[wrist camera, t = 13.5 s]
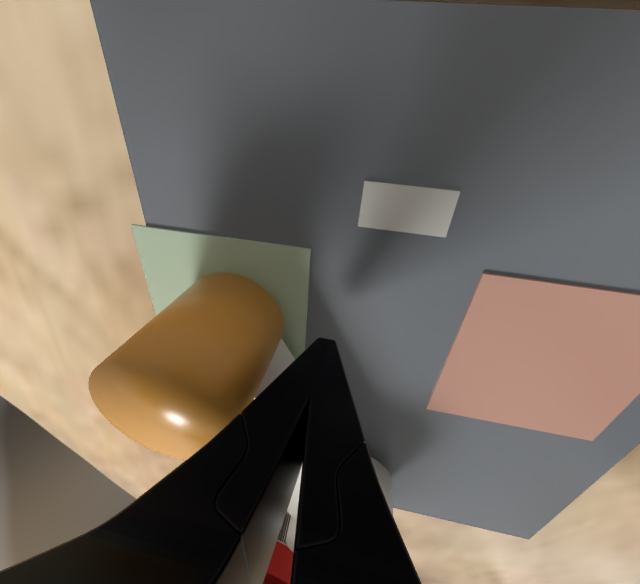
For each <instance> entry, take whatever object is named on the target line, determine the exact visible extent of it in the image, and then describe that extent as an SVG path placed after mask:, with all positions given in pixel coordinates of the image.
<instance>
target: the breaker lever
mask: <svg viewBox="0 0 640 584" xmlns="http://www.w3.org/2000/svg"><path fill="white" fill-rule="evenodd" d="M283 332H284V320H283V316H282V313H281V310H280V308H279V306H278V304H277V303H276V301H275V300H274V299H273V297H272V296H271V295H270V294H269V293H268V292H267V291H266V290H265V289H264V288H263V287H261V286H260V285H258V284H257V283H255V282H254V281H252V280H250V279H248V278H246V277H243V276H240V275H237V274H232V273H213V274H209V275H206V276H204V277H202V278H200V279H199V280H198V281H196V282H195V283H194V284H193V285H192V286H190V287H189V288H188V289H187V290H186V291H185V292H183V293H182V294H181V295H180V296H179V297H178V298H176V299H175V300H174V301H173V302H172V303H171V304H169V305H168V306H167V307H166V308H165V309H164V310H162V311H161V312H160V313H159V314H158V315H157V316H155V317H154V318H153V319H152V320H151V321H150V322H148V323H147V324H146V325H145V326H144V327H143V328H141V329H140V330H139V331H138V332H137V333H136V334H134V335H133V336H132V337H131V338H130V339H129V340H127V341H126V342H125V343H124V344H123V345H122V346H120V347H119V348H118V349H117V350H116V351H115V352H113V353H112V354H111V355H110V356H109V357H108V358H106V359H105V360H104V361H103V362H102V363H101V364H99V365H98V366H97V367H96V368H95V369H94V370H93V372H92V373H91V375H90V378H89V390H90V394H91V397H92V399H93V401H94V403H95V405H96V406H97V408H98V409H99V411H100V412H101V413H102V415H103V416H104V417H105V418H106V419H107V420H108V421H109V422H110V423H111V424H112V425H113V426H114V427H116V428H117V429H118V430H119V431H120V432H122V433H123V434H125V435H126V436H127V437H129V438H131V439H132V440H134V441H135V442H137V443H139V444H141V445H143V446H144V447H147V448H149V449H151V450H153V451H156V452H158V453H160V454H163V455H166V456H170V457H173V458H177V459H182V460H187V459H188V458H190V457H191V456H192V455H193V454H195V453H196V452H197V451H198V450H199V449H201V448H202V447H203V446H204V445H205V444H207V443H208V442H209V441H210V440H211V439H212V438H214V437H215V436H216V435H217V434H218V433H219V432H220V431H221V430H222V429H223V428H225V427H226V426H227V425H228V424H229V423H230V422H231V421H232V420H233V419H234V418H235V417H236V416H237V415H238V414H241V412H242V410H244V409H245V408H246V407H247V406H248V405H249V404H250V403H251V402H252V401H253V400H254V399H255V398H256V397H257V396H258V395H259V394H260V393H261V392H262V391H263V390H264V389H265V388H266V387H267V386H268V385H269V384H270V383H272V382H273V381H274V380H275V379H276V378H277V377H278V376H279V375H280V374H281V373H282V372H283V371H284V370H285V369H286V368H287V367H288V366H289V365H290V364H291V363H292V362H293V361H294V360H295V358H294V357H293V355H292V354H291V352H290V351H289V349H288V348H287V346H286V344H285V343H284V341H283V340H282V336H283ZM371 459H372V462H373V465H374V468H375V471H376V474H377V477H378V480H379V483H380V486H381V488H382V491H383V493H384V496H385V499H386V501H387V504H388V506H389V509H390V511H391V513H392V516H393V509H392V484H391V476H390V473H389V472H388V470H387V469H386V468H385V467H384V466H383V465H382V464H381V463H380V462H379V461H377V460H375V459H374V458H372V457H371ZM301 473H302V467H301V470H300V473H299V476H298V479H297V482H296V485H295V488H294V491H293V494H292V497H291V500H290V503H289V506H288V509H287V512H288V513H289V514H290V515H291V518H290V523H289V527H288V532H287V536H286V543H287V546H288V547H289V549H290V550H291V551H292V552H294V541H295V532H296V522H297V512H298V502H299V492H300V482H301Z"/></svg>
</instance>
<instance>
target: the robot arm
mask: <svg viewBox="0 0 640 584" xmlns="http://www.w3.org/2000/svg"><path fill="white" fill-rule="evenodd" d="M301 467H302V473H301V482H300V492H299V502H298V512H297V522H296V532H295V541H294V552H293V561H292V571H291V581H290V584H421V582H420V579H419V577H418V575H417V572H416V570H415V567H414V565H413V563H412V560H411V558H410V556H409V553H408V551H407V549H406V546H405V544H404V542H403V539H402V537H401V535H400V532H399V530H398V528H397V525H396V523H395V521H394V518H393V516H392V513H391V511H390V509H389V506H388V504H387V501H386V499H385V496H384V493H383V491H382V488H381V486H380V483H379V480H378V477H377V474H376V471H375V468H374V465H373V462H372V459H371V456H370V453H369V450H368V446H367V444H366V443H365V437H364V433H363V430H362V427H361V423H360V420H359V417H358V413H357V410H356V407H355V403H354V400H353V397H352V393H351V390H350V387H349V383H348V380H347V377H346V373H345V370H344V367H343V363H342V360H341V357H340V353H339V350H338V347H337V343H336V341H335V340H332V339H327V338H322V337H319V338H317V339H316V340H315V341H314V342H313V343H312V344H311V345H310V346H309V347H308V348H307V349H306V350H305V351H304V352H303V353H302V354H301V355H300V356H298V357H297V358H296V359H295V360H294V361H293V362H292V363H291V364H290V365H289V366H288V367H287V368H286V369H285V370H284V371H283V372H282V373H281V374H280V375H279V376H278V377H277V378H276V379H275V380H274V381H273V382H272V383H270V384H269V385H268V386H267V387H266V388H265V389H264V390H263V391H262V392H261V393H260V394H259V395H258V396H257V397H256V398H255V399H254V400H253V401H252V402H251V403H250V404H249V405H248V406H247V407H246V408H245V409H244V410H242V412H241V414H238V415H237V416H236V417H235V418H234V419H233V420H232V421H231V422H230V423H229V424H228V425H227V426H226V427H225V428H223V429H222V430H221V431H220V432H219V433H218V434H217V435H216V436H215V437H214V438H212V439H211V440H210V441H209V442H208V443H207V444H205V445H204V446H203V447H202V448H201V449H199V450H198V451H197V452H196V453H195V454H193V455H192V456H191V457H190V458H188V459H187V460H186V461H185V462H183V463H182V464H181V465H180V466H178V467H177V468H176V469H174V470H173V471H172V472H171V473H169V474H168V475H167V476H166V477H164V478H163V479H162V480H160V481H159V482H158V483H157V484H155V485H154V486H153V487H152V488H150V489H149V490H148V491H147V492H145V493H144V494H143V495H141V496H140V497H139V498H138V499H136V500H135V501H134V502H133V503H131V504H130V505H129V506H127V507H126V508H125V509H123V510H122V511H121V512H119V513H118V514H117V515H115V516H113V517H112V518H110V519H109V520H107V521H106V522H104V523H103V524H101V525H99V526H97V527H96V528H94V529H92V530H90V531H88V532H87V533H85V534H83V535H80V536H78V537H76V538H74V539H72V540H70V541H67V542H65V543H63V544H61V545H58V546H56V547H54V548H51V549H49V550H47V551H45V552H42V553H40V554H38V555H36V556H33V557H31V558H29V559H27V560H25V561H22V562H20V563H18V564H15V565H13V566H11V567H9V568H6V569H4V570H2V571H0V584H263V581H264V578H265V575H266V572H267V569H268V566H269V563H270V560H271V557H272V554H273V551H274V548H275V545H276V542H277V539H278V536H279V533H280V530H281V527H282V524H283V521H284V518H285V515H286V512H287V509H288V506H289V503H290V500H291V497H292V494H293V491H294V488H295V485H296V482H297V479H298V476H299V473H300V470H301Z"/></svg>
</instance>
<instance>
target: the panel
mask: <svg viewBox="0 0 640 584" xmlns="http://www.w3.org/2000/svg"><path fill="white" fill-rule="evenodd" d="M90 3H91V7H92V11H93V14H94V18H95V22H96V26H97V30H98V34H99V38H100V42H101V46H102V50H103V54H104V58H105V62H106V66H107V70H108V74H109V78H110V82H111V86H112V90H113V94H114V98H115V102H116V106H117V110H118V114H119V118H120V122H121V126H122V130H123V134H124V138H125V142H126V146H127V150H128V154H129V158H130V162H131V166H132V170H133V174H134V178H135V182H136V186H137V190H138V194H139V198H140V202H141V206H142V210H143V214H144V218H145V222H146V226H143V225H135V224H132V225H131V229H132V232H133V236H134V239H135V243H136V247H137V250H138V254H139V257H140V261H141V264H142V268H143V271H144V275H145V279H146V282H147V286H148V289H149V293H150V296H151V300H152V304H153V307H154V311H155V314H156V316H157V315H158V314H159V313H160V312H161V311H162V310H164V309H165V308H166V307H167V306H168V305H169V304H171V303H172V302H173V301H174V300H175V299H176V298H178V297H179V296H180V295H181V294H182V293H183V292H185V291H186V290H187V289H188V288H189V287H190V286H192V285H193V284H194V283H195V282H196V281H198V280H199V279H200V278H202V277H204V276H206V275H209V274H213V273H232V274H237V275H240V276H243V277H246V278H248V279H250V280H252V281H254V282H255V283H257V284H258V285H260V286H261V287H263V288H264V289H265V290H266V291H267V292H268V293H269V294H270V295H271V296H272V297H273V299H274V300H275V301H276V303H277V304H278V306H279V308H280V310H281V313H282V316H283V320H284V332H283V336H282V340H283V341H284V343H285V344H286V346H287V348H288V349H289V351H290V352H291V354H292V355H293V357H294V358H295V359H296V358H297V357H298V356H300V355H301V354H302V353H303V352H304V351H305V350H306V349H307V348H308V347H309V346H310V345H311V344H312V343H313V342H314V341H315V340H316V339H317V338H319V337H322V338H327V339H332V340H335V341H336V343H337V347H338V350H339V353H340V357H341V360H342V363H343V367H344V370H345V373H346V377H347V380H348V383H349V387H350V390H351V393H352V397H353V400H354V403H355V407H356V410H357V413H358V417H359V420H360V423H361V427H362V430H363V433H364V437H365V443H366V444H367V446H368V450H369V453H370V456H371V457H372V458H374V459H375V460H377V461H379V462H380V463H381V464H382V465H383V466H384V467H385V468H386V469H387V470H388V472H389V473H390V476H391V484H392V507H393V508H397V509H401V510H405V511H410V512H414V513H418V514H423V515H427V516H431V517H435V518H440V519H444V520H448V521H452V522H457V523H461V524H465V525H470V526H474V527H478V528H482V529H487V530H491V531H495V532H500V533H504V534H508V535H512V536H517V537H521V538H525V539H530V538H531V537H532V536H533V535H535V534H536V533H537V532H538V531H539V530H540V529H542V528H543V527H544V526H545V525H546V524H547V523H548V522H550V521H551V520H552V519H553V518H554V517H555V516H556V515H558V514H559V513H560V512H561V511H562V510H563V509H565V508H566V507H567V506H568V505H569V504H570V503H571V502H573V501H574V500H575V499H576V498H577V497H578V496H579V495H581V494H582V493H583V492H584V491H585V490H586V489H588V488H589V487H590V486H591V485H592V484H593V483H594V482H596V481H597V480H598V479H599V478H600V477H601V476H602V475H604V474H605V473H606V472H607V471H608V470H609V469H611V468H612V467H613V466H614V465H615V464H616V463H617V462H619V461H620V460H621V459H622V458H623V457H624V456H626V455H627V454H628V453H629V452H630V451H631V450H632V449H634V448H635V447H636V446H637V445H638V444H639V443H640V10H630V9H604V8H577V7H551V6H524V5H498V4H471V3H445V2H418V1H392V0H90Z"/></svg>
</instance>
